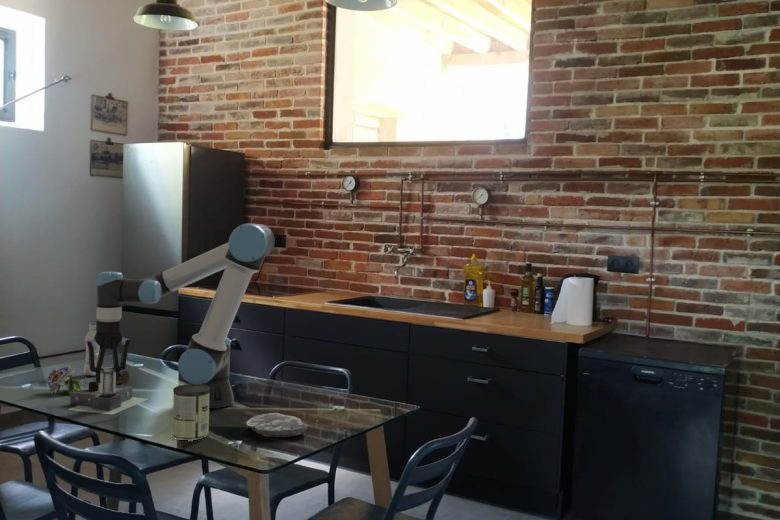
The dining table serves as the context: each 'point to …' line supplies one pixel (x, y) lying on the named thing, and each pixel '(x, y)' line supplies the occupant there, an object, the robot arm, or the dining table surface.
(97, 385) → the hand tool
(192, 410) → the coffee can
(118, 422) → the dining table surface
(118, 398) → the hinge base
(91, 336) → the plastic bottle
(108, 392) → the hinge pin
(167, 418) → the dining table surface
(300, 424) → the brain slice
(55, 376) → the passion flower
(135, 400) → the mat
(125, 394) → the bolted dark bar
